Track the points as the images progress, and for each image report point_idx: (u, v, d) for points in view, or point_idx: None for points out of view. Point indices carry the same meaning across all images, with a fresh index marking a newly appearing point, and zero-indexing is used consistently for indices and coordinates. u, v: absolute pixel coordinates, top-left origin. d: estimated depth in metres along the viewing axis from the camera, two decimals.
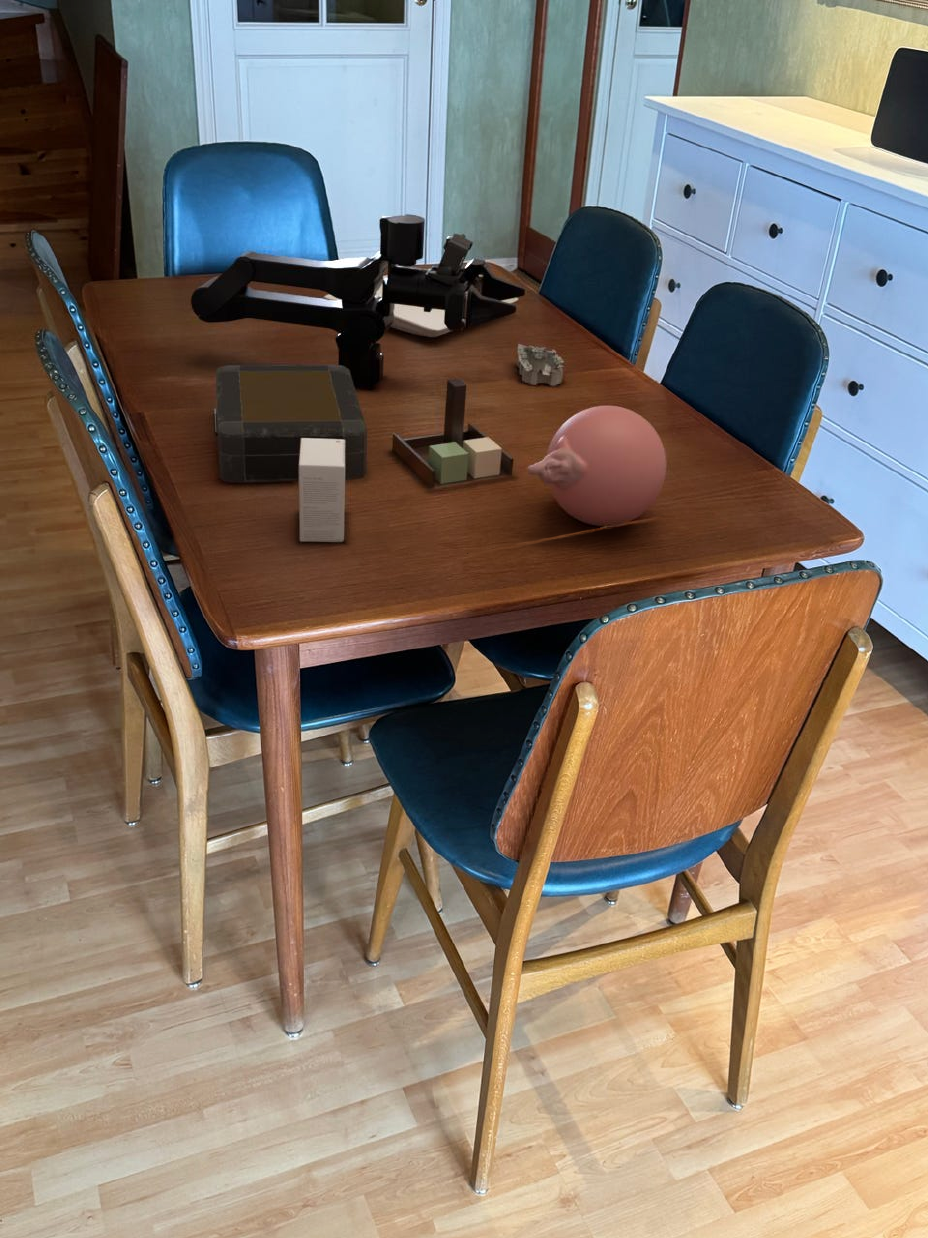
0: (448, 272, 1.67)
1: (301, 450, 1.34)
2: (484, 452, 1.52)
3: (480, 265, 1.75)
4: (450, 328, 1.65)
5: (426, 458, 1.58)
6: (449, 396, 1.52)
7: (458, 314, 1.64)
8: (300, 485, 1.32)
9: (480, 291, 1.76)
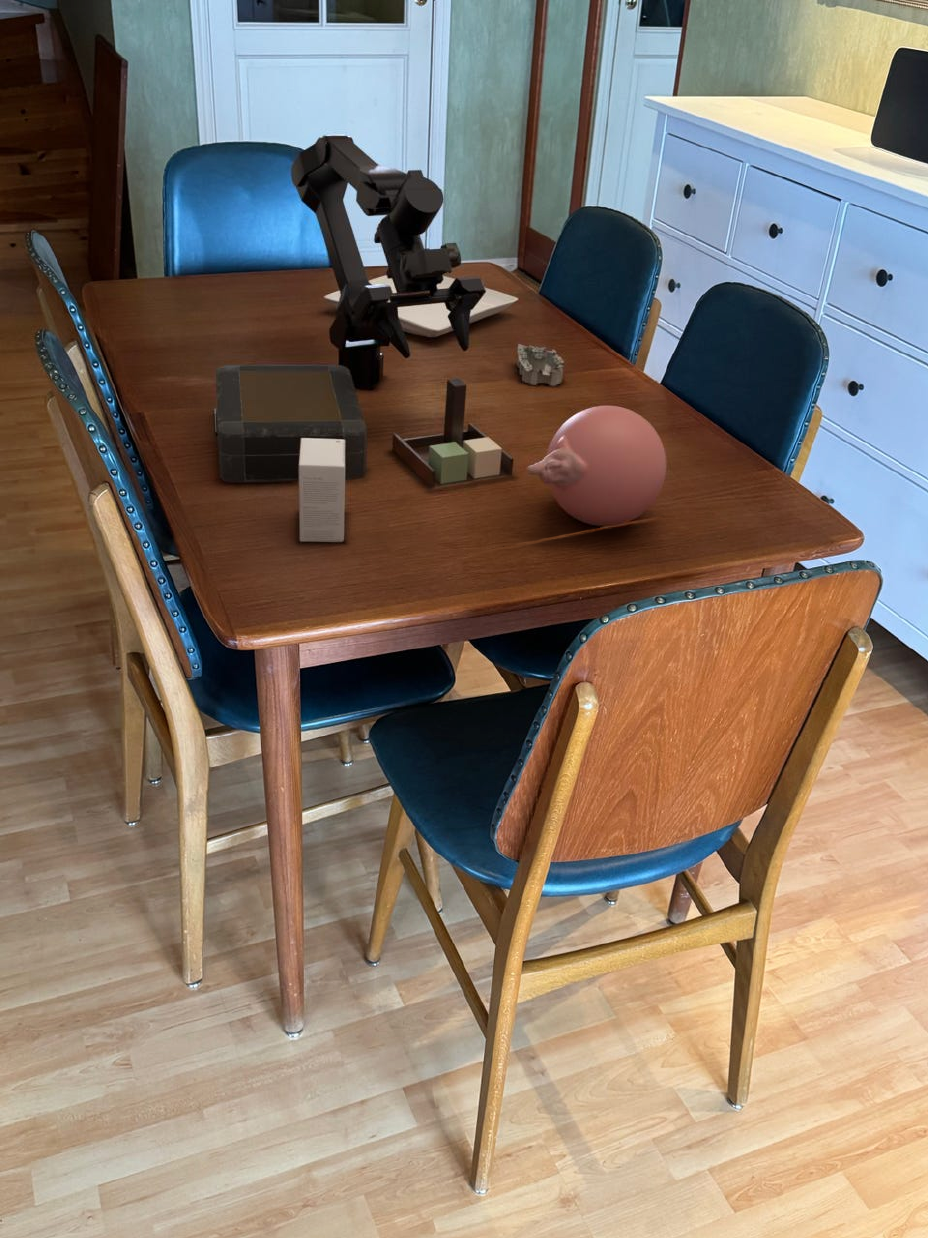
0: (405, 270, 1.53)
1: (301, 450, 1.34)
2: (484, 452, 1.52)
3: (466, 290, 1.57)
4: None
5: (426, 458, 1.58)
6: (449, 396, 1.52)
7: (359, 310, 1.53)
8: (300, 485, 1.32)
9: (453, 307, 1.60)
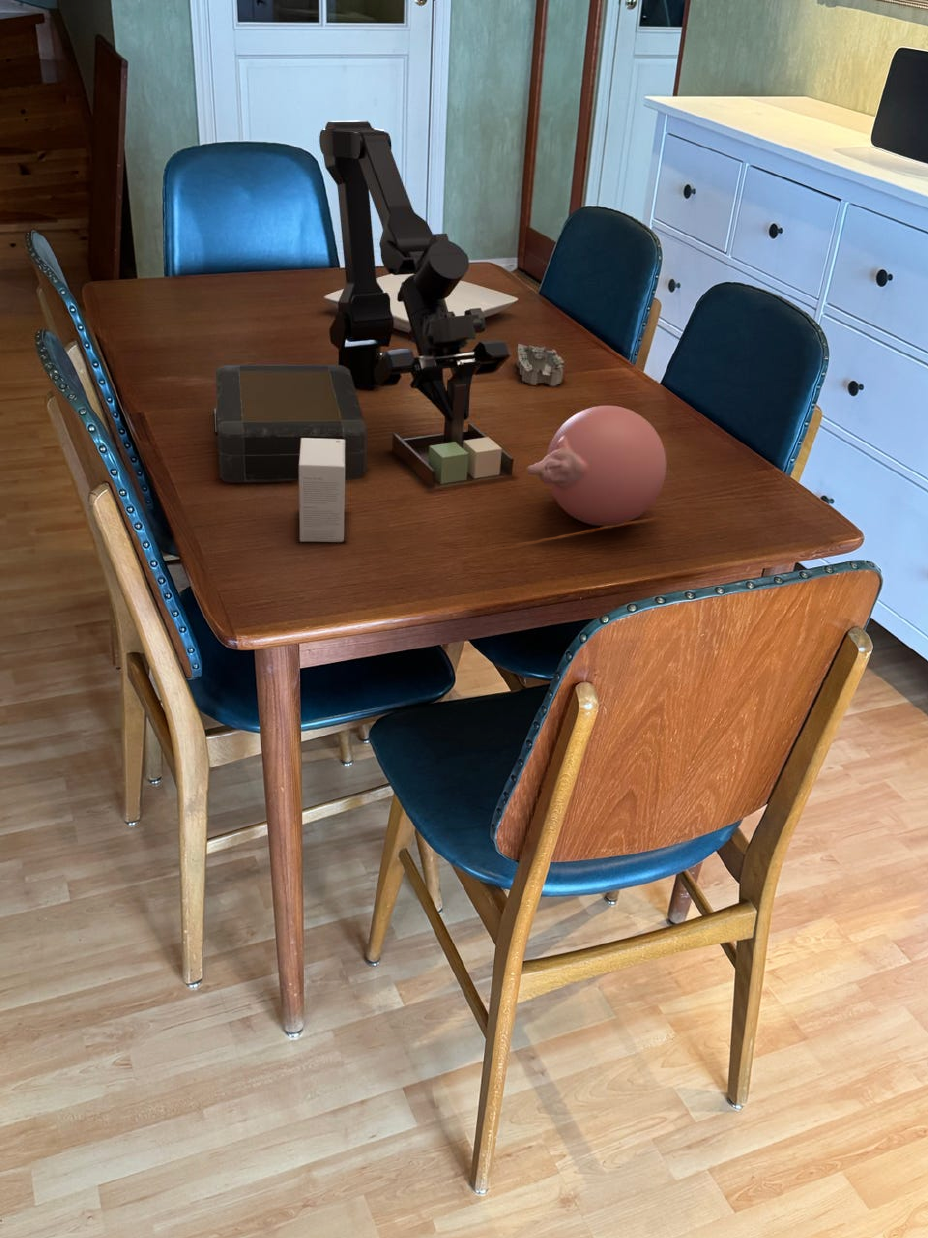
0: (428, 335, 1.49)
1: (301, 450, 1.34)
2: (484, 452, 1.52)
3: (490, 355, 1.53)
4: None
5: (426, 458, 1.58)
6: (449, 396, 1.52)
7: (380, 375, 1.50)
8: (300, 485, 1.32)
9: (454, 373, 1.55)
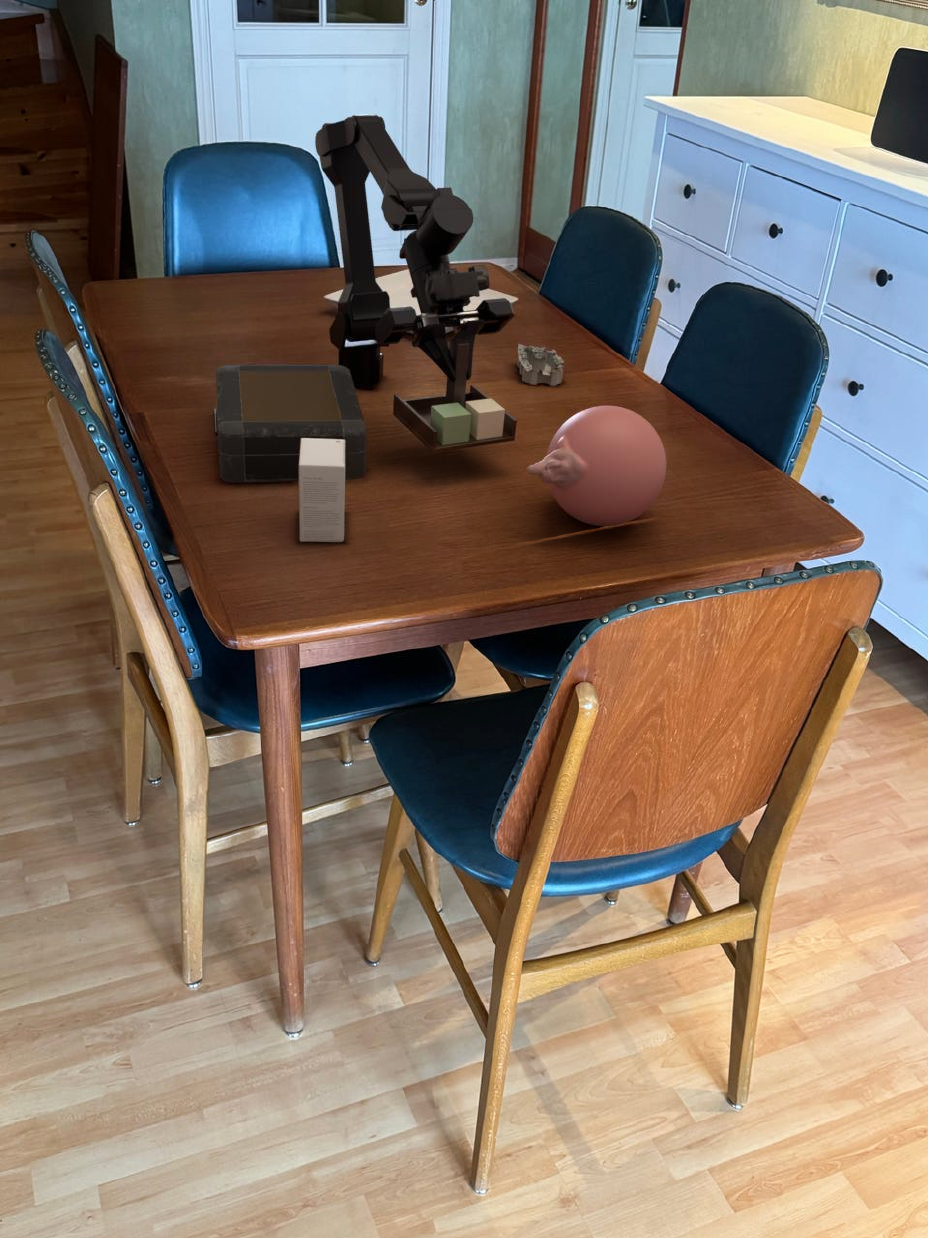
0: (431, 292, 1.46)
1: (301, 450, 1.34)
2: (487, 413, 1.49)
3: (493, 314, 1.50)
4: None
5: (428, 419, 1.54)
6: (452, 356, 1.48)
7: (382, 332, 1.47)
8: (300, 485, 1.32)
9: (457, 332, 1.52)
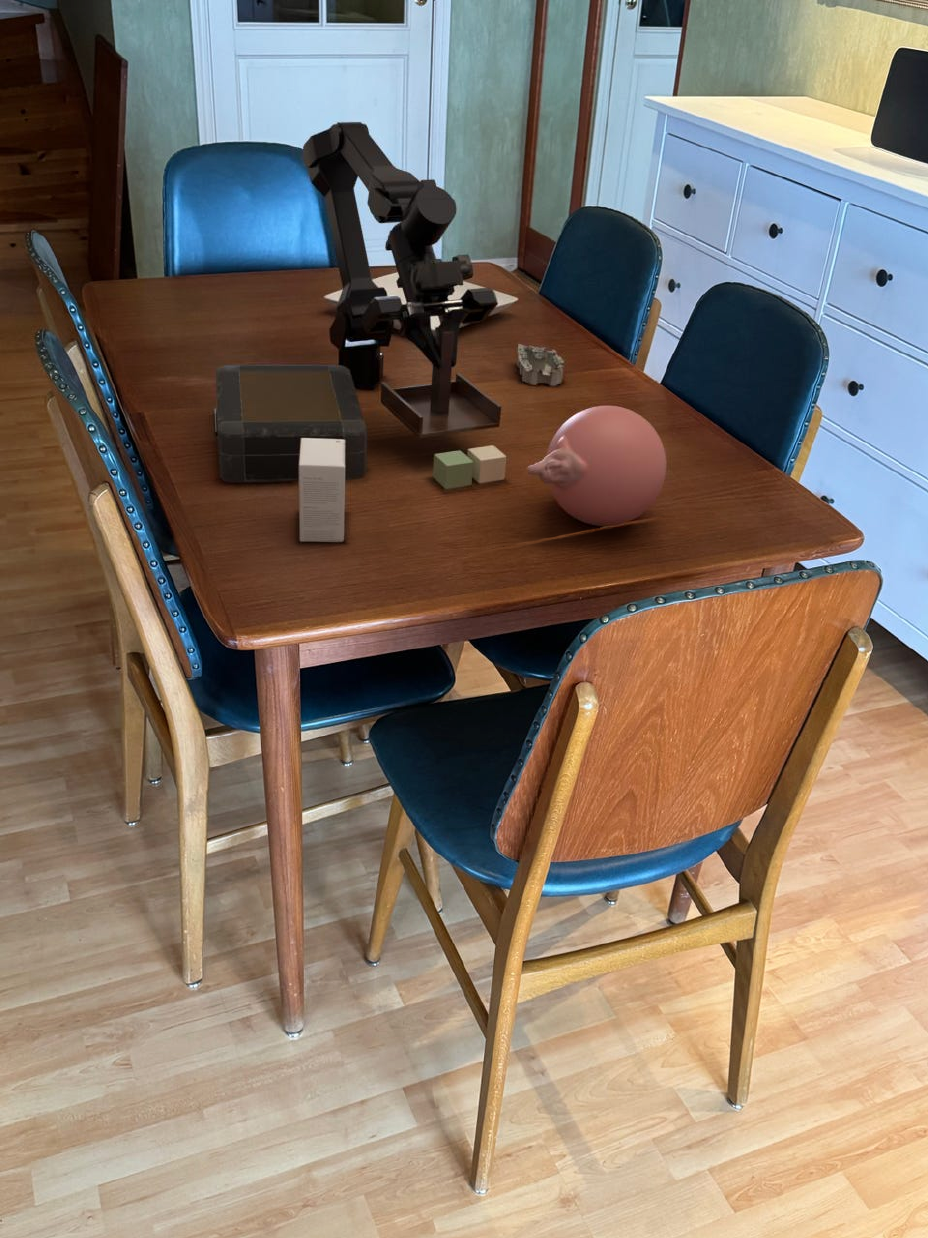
0: (416, 282, 1.50)
1: (301, 450, 1.34)
2: None
3: (477, 302, 1.54)
4: None
5: (414, 407, 1.58)
6: (437, 344, 1.52)
7: (368, 321, 1.50)
8: (300, 485, 1.32)
9: (442, 321, 1.56)
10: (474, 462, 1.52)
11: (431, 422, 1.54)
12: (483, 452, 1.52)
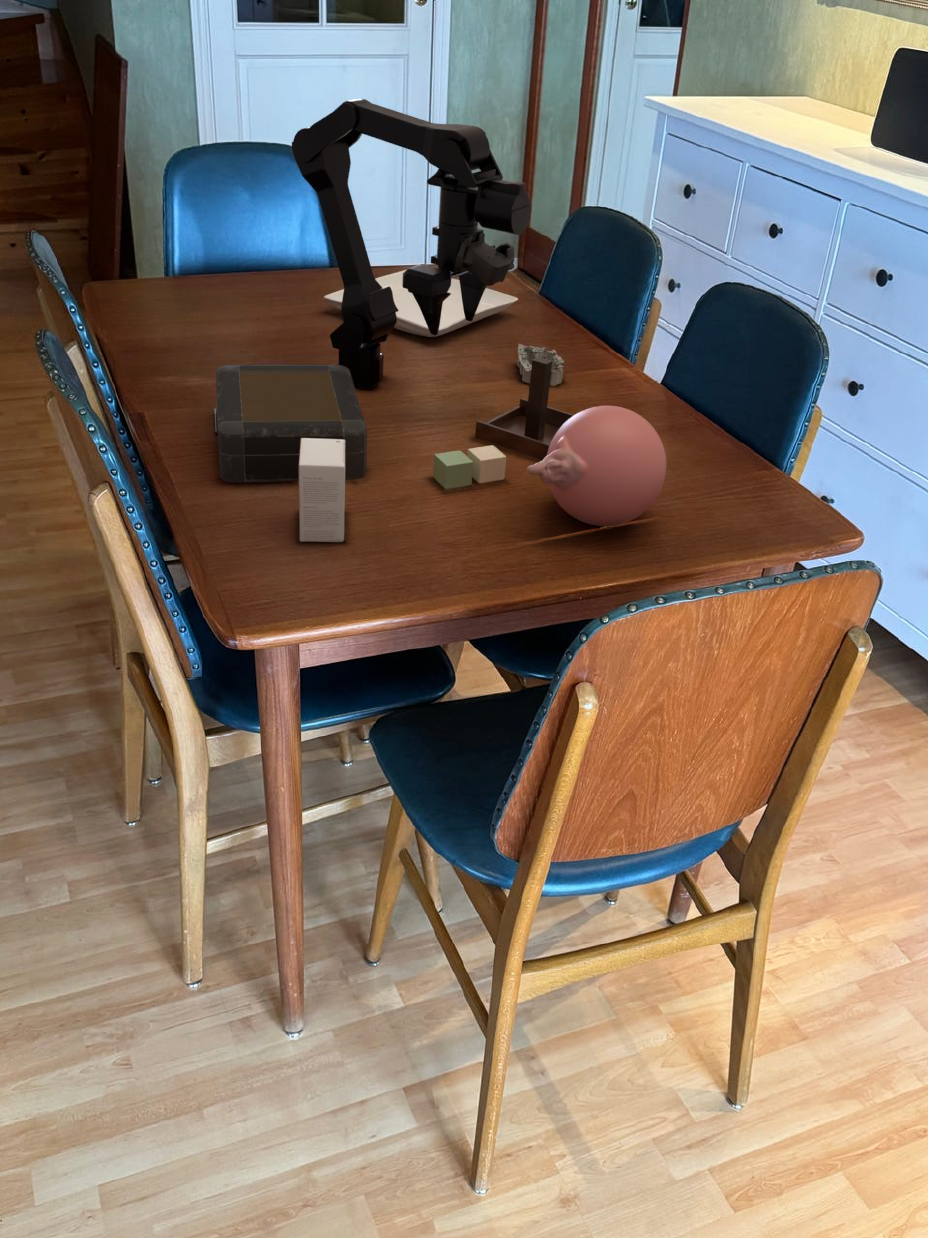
0: (466, 262, 1.59)
1: (301, 450, 1.34)
2: None
3: None
4: (403, 275, 1.58)
5: None
6: (537, 375, 1.61)
7: (415, 287, 1.58)
8: (300, 485, 1.32)
9: None
10: (474, 462, 1.52)
11: None
12: (483, 452, 1.52)
